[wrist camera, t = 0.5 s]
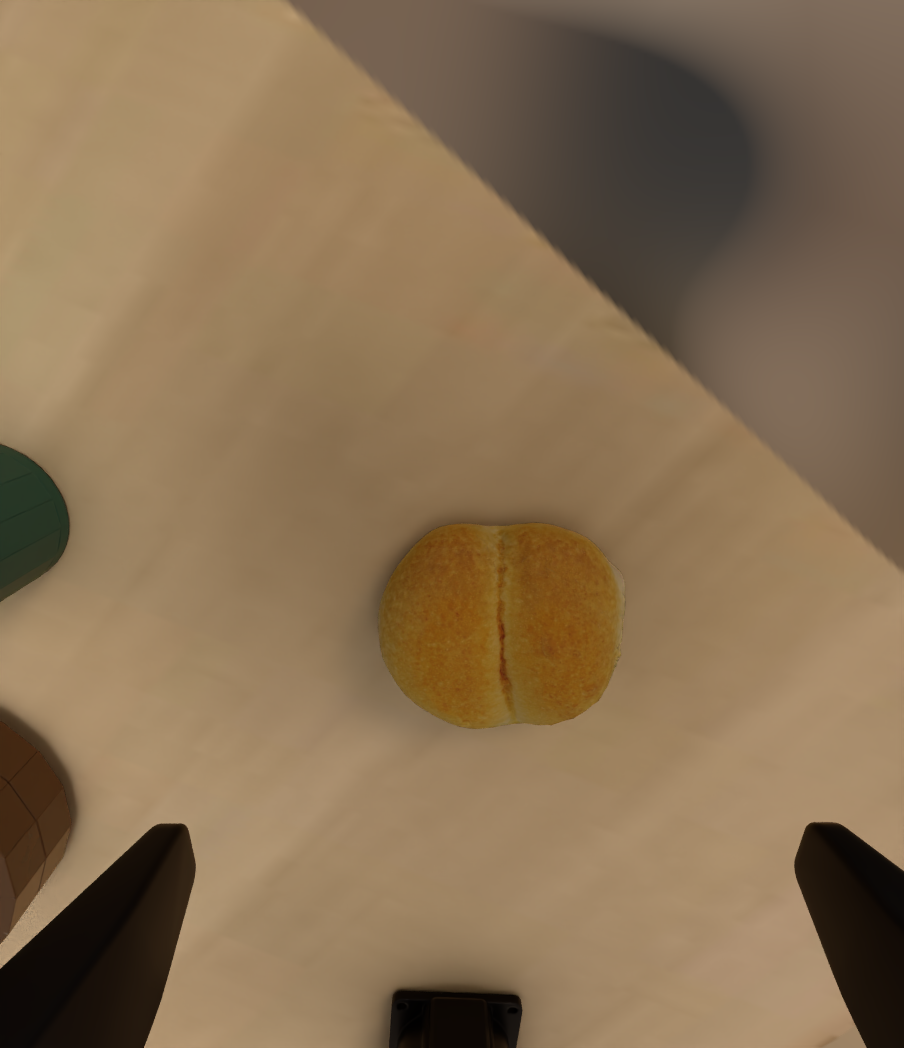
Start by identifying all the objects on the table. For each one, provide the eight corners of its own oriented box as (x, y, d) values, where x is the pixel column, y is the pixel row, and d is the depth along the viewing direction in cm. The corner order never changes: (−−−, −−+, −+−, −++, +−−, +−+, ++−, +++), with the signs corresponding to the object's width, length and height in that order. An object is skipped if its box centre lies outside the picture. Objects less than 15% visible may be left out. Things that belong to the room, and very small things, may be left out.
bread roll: (375, 518, 22) (361, 558, 19) (616, 511, 22) (652, 550, 19) (387, 708, 25) (377, 777, 21) (603, 701, 25) (632, 769, 21)
